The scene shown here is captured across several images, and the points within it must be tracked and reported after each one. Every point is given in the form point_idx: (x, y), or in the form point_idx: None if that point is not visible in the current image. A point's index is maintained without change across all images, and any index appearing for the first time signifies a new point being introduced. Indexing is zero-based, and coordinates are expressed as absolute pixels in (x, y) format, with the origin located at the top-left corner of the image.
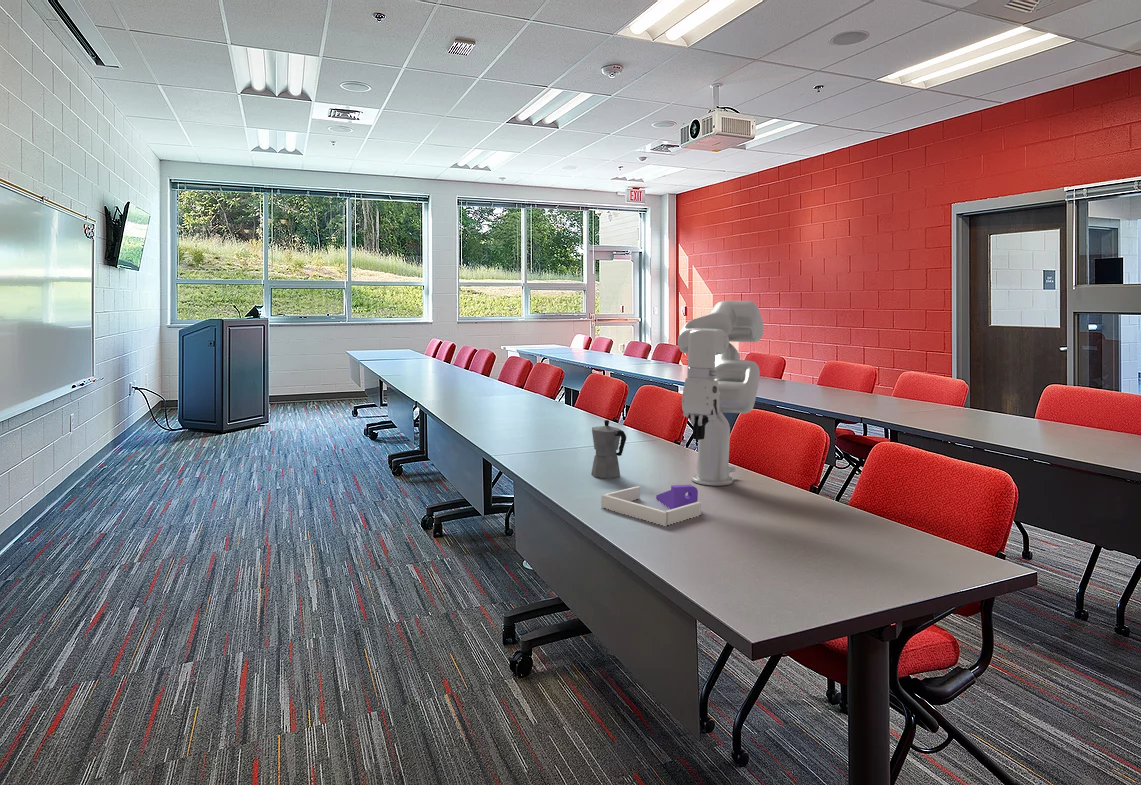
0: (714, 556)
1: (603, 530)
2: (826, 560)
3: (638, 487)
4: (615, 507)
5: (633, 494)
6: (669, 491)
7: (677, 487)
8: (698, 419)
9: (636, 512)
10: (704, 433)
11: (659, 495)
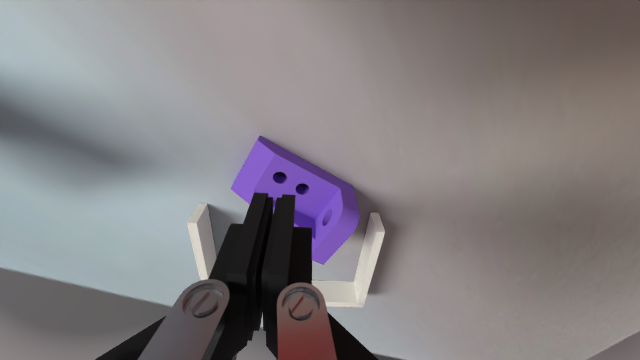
0: (466, 318)
1: None
2: (619, 258)
3: (197, 227)
4: None
5: (205, 230)
6: None
7: (327, 259)
8: (205, 344)
9: None
10: (311, 240)
11: (248, 200)
